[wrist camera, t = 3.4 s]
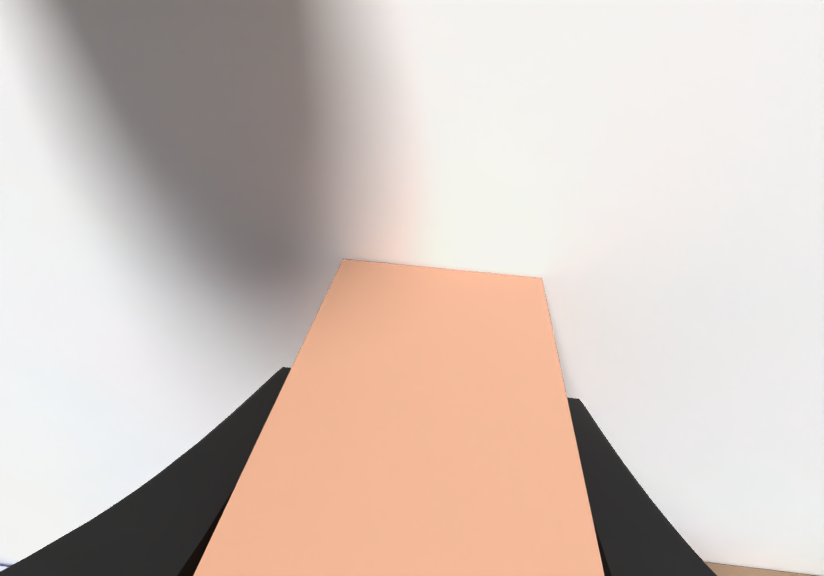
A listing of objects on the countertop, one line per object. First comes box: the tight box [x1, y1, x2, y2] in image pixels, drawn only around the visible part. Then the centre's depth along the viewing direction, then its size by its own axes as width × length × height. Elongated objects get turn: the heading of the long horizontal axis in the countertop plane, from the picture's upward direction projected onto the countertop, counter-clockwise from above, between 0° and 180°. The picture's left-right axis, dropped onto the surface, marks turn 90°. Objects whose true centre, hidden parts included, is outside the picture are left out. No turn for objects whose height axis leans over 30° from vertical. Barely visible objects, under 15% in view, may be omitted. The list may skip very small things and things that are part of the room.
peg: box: [193, 259, 604, 576], centre depth 9 cm, size 4×4×8 cm
